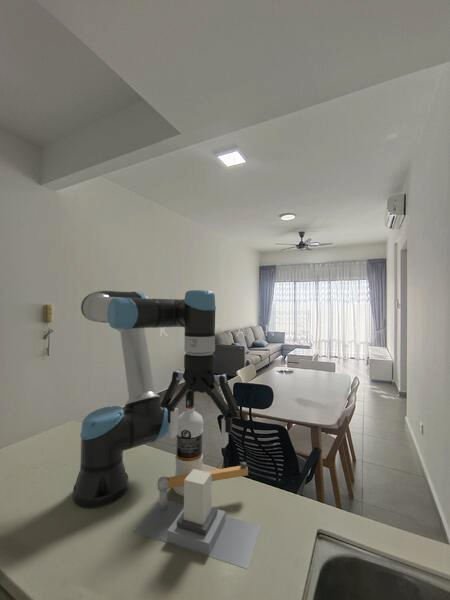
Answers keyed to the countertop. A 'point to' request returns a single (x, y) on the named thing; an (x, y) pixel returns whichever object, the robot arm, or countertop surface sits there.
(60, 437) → the countertop surface
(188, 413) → the vodka
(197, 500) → the plug
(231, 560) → the socket block
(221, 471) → the orange knobbed bar
